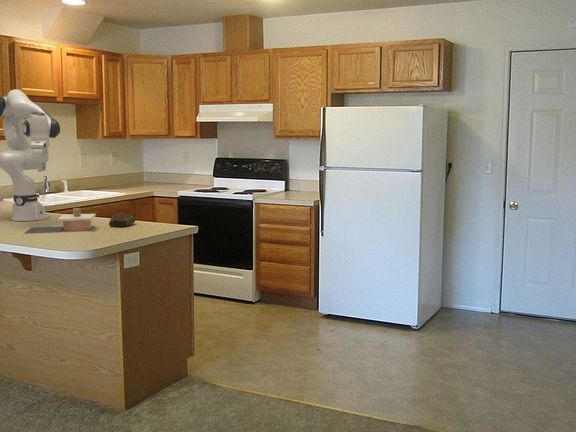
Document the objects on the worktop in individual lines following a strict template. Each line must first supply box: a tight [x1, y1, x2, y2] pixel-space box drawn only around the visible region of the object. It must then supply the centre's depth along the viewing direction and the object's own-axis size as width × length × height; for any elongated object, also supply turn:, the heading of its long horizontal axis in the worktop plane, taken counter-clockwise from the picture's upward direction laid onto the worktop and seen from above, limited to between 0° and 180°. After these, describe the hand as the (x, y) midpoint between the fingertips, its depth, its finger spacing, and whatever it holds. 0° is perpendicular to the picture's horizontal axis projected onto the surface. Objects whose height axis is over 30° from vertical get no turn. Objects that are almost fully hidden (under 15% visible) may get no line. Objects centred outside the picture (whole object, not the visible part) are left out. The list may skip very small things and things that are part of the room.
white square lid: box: [57, 207, 97, 222], centre depth 325 cm, size 16×16×5 cm
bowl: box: [62, 219, 93, 232], centre depth 326 cm, size 13×13×6 cm
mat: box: [22, 225, 64, 235], centre depth 324 cm, size 19×17×1 cm
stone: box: [108, 212, 136, 229], centre depth 340 cm, size 10×14×6 cm
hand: (42, 171), depth 334 cm, fingers open, 8 cm apart
